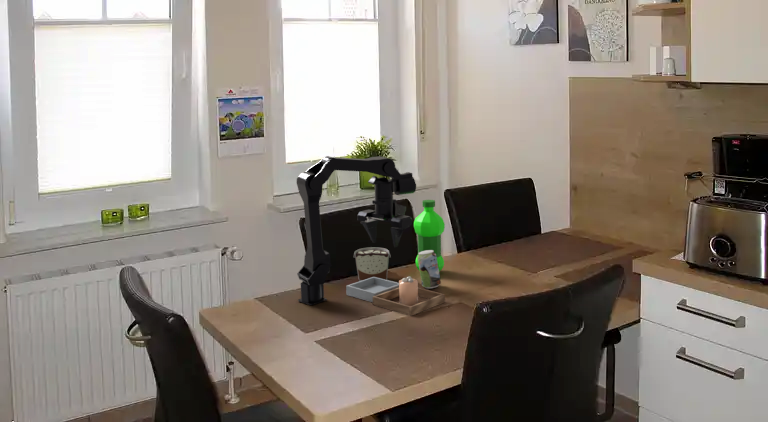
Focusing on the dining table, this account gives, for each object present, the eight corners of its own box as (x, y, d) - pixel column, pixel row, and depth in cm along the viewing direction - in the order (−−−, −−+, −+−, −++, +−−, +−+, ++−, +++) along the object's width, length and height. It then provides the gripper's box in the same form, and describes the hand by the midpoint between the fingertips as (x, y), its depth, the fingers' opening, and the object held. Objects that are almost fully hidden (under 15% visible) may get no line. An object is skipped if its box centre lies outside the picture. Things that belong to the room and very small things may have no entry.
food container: (392, 275, 269) (392, 246, 267) (391, 281, 263) (390, 251, 261) (356, 275, 271) (355, 246, 269) (354, 280, 265) (353, 251, 263)
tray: (374, 302, 242) (374, 293, 241) (346, 294, 250) (346, 285, 250) (402, 292, 251) (402, 283, 250) (374, 285, 259) (373, 276, 258)
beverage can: (439, 290, 252) (439, 253, 249) (416, 289, 253) (415, 253, 251) (442, 284, 258) (441, 248, 255) (419, 283, 259) (418, 248, 257)
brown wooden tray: (410, 315, 230) (410, 307, 229) (372, 304, 240) (372, 296, 240) (444, 302, 241) (444, 294, 240) (406, 292, 251) (406, 284, 251)
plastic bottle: (428, 279, 264) (427, 205, 259) (408, 272, 272) (407, 200, 267) (451, 273, 270) (450, 201, 264) (431, 267, 278) (429, 196, 273)
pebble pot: (409, 307, 237) (409, 281, 235) (395, 304, 241) (395, 277, 239) (421, 303, 241) (421, 277, 239) (408, 299, 245) (407, 273, 243)
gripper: (423, 196, 251) (423, 244, 254) (379, 189, 263) (380, 235, 266) (400, 201, 243) (401, 251, 246) (355, 195, 255) (357, 242, 258)
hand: (385, 244), depth 254 cm, fingers open, 9 cm apart
